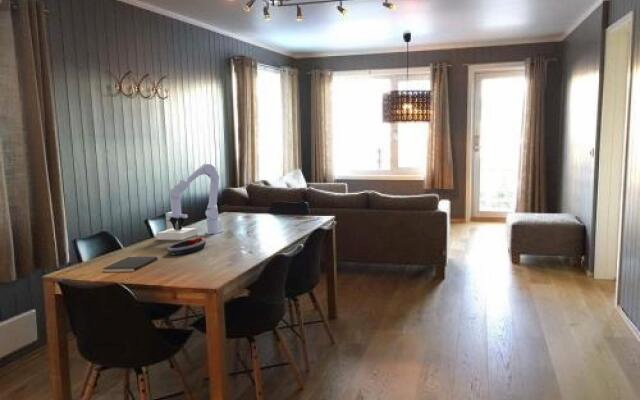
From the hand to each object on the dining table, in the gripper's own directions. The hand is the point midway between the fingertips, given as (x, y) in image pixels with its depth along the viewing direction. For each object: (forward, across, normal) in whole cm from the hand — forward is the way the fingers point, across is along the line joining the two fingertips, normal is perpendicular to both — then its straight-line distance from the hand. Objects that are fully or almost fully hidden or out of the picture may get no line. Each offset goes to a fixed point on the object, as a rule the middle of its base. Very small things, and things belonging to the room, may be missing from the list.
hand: (178, 229), depth 333 cm
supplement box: (+5, -19, +22) cm, 30 cm away
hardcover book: (+6, +22, -69) cm, 73 cm away
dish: (+6, +30, -33) cm, 45 cm away
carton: (+5, 0, -1) cm, 5 cm away
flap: (+1, 0, +3) cm, 3 cm away
